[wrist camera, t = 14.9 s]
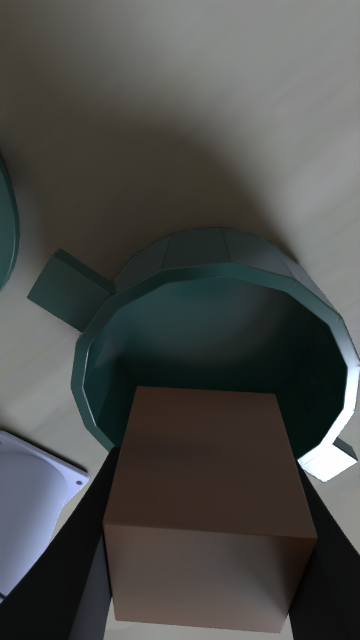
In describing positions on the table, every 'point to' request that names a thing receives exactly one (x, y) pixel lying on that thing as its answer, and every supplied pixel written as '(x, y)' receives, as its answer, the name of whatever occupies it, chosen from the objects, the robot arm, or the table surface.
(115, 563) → the block
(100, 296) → the pot
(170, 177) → the table surface
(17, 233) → the lid
